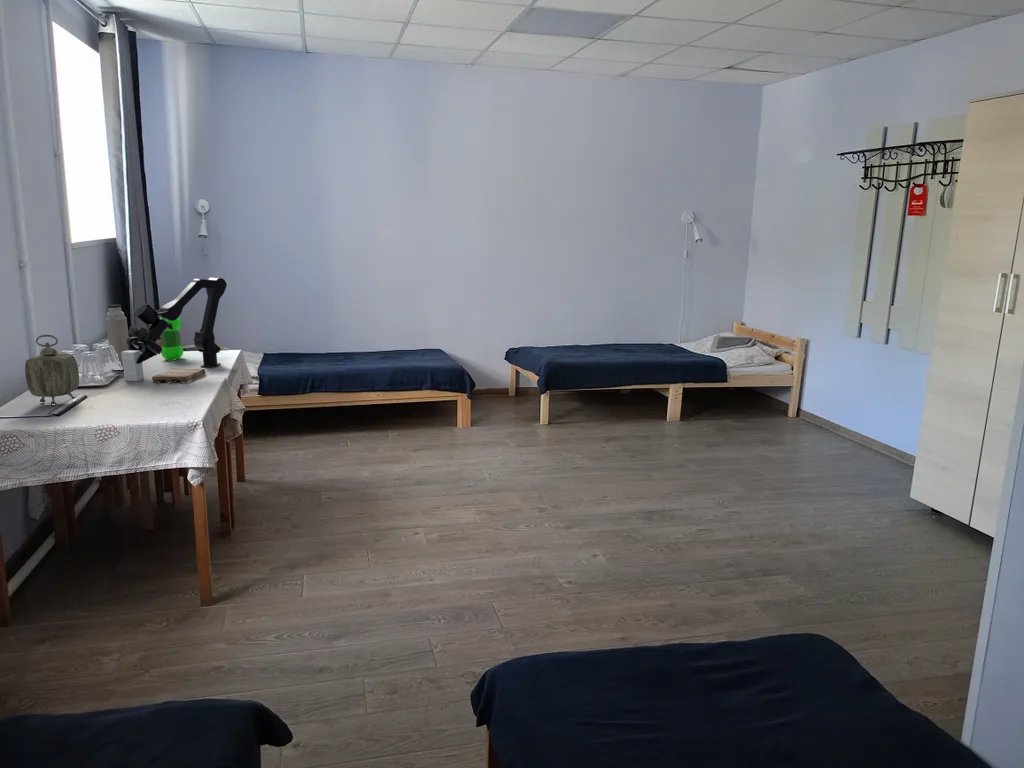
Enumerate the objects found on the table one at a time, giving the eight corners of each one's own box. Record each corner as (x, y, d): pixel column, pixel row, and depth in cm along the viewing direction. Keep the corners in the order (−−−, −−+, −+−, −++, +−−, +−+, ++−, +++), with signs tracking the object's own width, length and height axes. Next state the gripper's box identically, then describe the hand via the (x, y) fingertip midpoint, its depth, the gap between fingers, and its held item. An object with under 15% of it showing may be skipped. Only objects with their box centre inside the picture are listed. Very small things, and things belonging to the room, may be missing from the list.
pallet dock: (173, 374, 313) (172, 368, 312) (205, 374, 312) (204, 368, 311) (152, 382, 297) (152, 376, 297) (186, 383, 296) (185, 376, 296)
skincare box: (144, 379, 303) (141, 350, 301) (137, 381, 299) (133, 352, 297) (131, 378, 305) (128, 350, 302) (124, 381, 301) (120, 351, 298)
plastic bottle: (157, 359, 344) (151, 305, 339) (180, 356, 351) (175, 303, 346) (164, 362, 337) (158, 307, 332) (188, 359, 344) (182, 305, 338)
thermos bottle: (113, 367, 326) (105, 304, 320) (134, 366, 329) (126, 303, 322) (110, 371, 319) (102, 306, 312) (131, 370, 321) (123, 305, 315)
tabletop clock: (82, 400, 270) (73, 332, 264) (72, 406, 261) (62, 336, 256) (39, 402, 268) (28, 333, 262) (27, 408, 259) (16, 337, 253)
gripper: (128, 317, 306) (103, 347, 300) (151, 321, 295) (127, 352, 289) (148, 334, 314) (125, 363, 308) (172, 338, 303) (149, 369, 297)
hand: (131, 362), depth 300 cm, fingers open, 9 cm apart
